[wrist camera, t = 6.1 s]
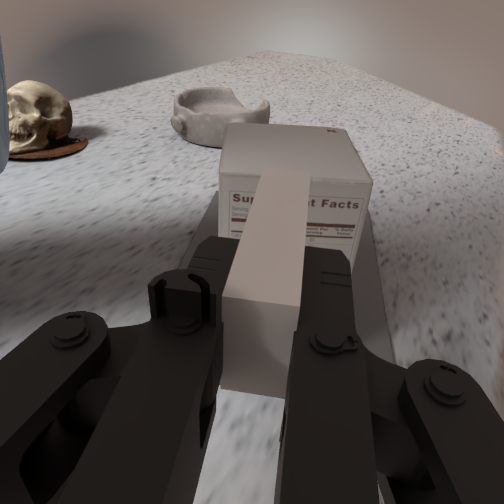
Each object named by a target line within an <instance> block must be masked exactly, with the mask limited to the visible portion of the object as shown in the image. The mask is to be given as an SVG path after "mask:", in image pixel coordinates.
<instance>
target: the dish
mask: <svg viewBox="0 0 504 504" xmlns="http://www.w3.org/2000/svg"><path fill="white" fill-rule="evenodd" d="M269 117H270V105H269V102H268V101H267V100H264V101H263V102H262V104H261V105H260V106H259V108H258V109H256V110H252V111H251V110H249V109H246V108H244V107H243V106H242V105H241V103H240V102H239V101H238V100H237V98H236V97H235V95H234V94H233V92H232V90H231V89H229V88H221V87H203V88H194V89H189V90H185V91H183V93H181V94H178V95H177V96H176V98H175V101H174V116H172V117H171V125H172V127H173V128H174V130H175V131H176V132H177V133H178V134H179V135H180V136H181V137H182V138H183V139H185V140H187V141H189V142H192V143H195V144H199V145H204V146H211V147H221V148H222V144H223V139H224V133H225V128H226V125H227V123H230V122H237V123H257V124H269Z"/></svg>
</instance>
